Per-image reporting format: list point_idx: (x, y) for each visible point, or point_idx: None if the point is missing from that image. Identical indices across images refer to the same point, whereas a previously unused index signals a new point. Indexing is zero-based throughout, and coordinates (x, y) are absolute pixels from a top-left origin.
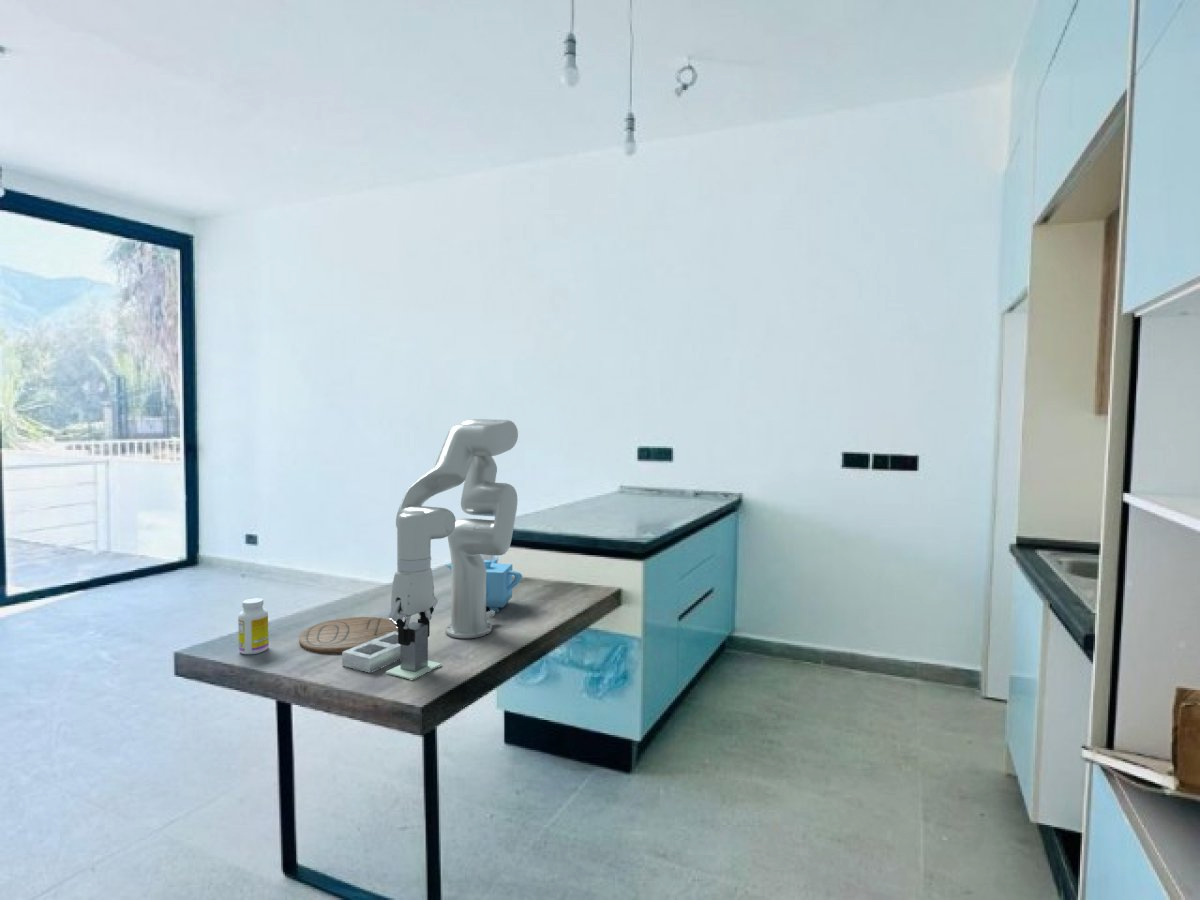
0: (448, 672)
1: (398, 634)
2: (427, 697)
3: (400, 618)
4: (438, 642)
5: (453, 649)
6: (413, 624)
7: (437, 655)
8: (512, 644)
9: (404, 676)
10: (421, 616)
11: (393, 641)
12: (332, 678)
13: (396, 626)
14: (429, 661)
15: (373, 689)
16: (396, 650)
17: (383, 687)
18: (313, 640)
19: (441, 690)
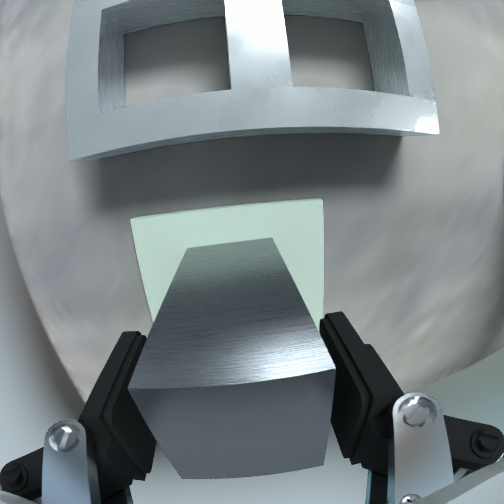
0: None
1: (104, 372)
2: None
3: (71, 500)
4: (473, 145)
5: (452, 240)
6: (266, 421)
7: (395, 235)
8: (495, 335)
9: (152, 316)
10: (386, 442)
11: (368, 11)
12: (20, 103)
13: (53, 432)
14: (317, 282)
15: (50, 289)
16: (264, 129)
17: (75, 303)
18: None
19: None
